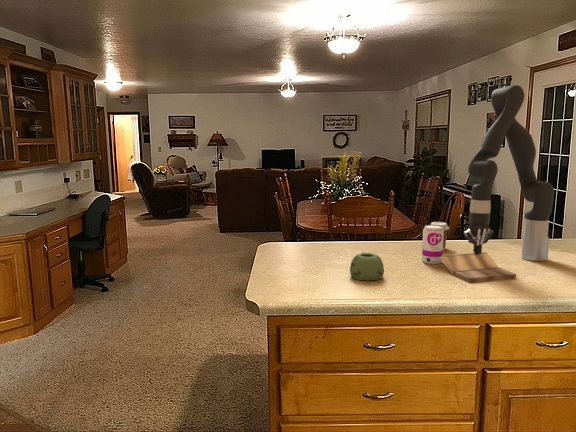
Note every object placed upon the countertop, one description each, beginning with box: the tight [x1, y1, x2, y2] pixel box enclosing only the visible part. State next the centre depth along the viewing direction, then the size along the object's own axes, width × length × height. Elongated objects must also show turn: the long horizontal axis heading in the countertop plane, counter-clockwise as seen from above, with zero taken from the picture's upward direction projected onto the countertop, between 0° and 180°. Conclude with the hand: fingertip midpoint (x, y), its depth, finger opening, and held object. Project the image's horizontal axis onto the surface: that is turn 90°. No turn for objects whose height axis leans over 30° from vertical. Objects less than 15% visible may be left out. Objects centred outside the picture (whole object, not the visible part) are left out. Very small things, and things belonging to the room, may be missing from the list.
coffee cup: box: [430, 221, 450, 251], centre depth 226 cm, size 9×9×12 cm
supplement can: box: [421, 224, 444, 265], centre depth 201 cm, size 8×8×15 cm
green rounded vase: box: [349, 251, 385, 282], centre depth 182 cm, size 16×13×9 cm
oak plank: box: [441, 251, 500, 275], centre depth 189 cm, size 20×9×2 cm, turn 105°
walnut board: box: [453, 266, 517, 284], centre depth 180 cm, size 20×9×2 cm, turn 105°
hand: (477, 253), depth 192 cm, fingers closed
